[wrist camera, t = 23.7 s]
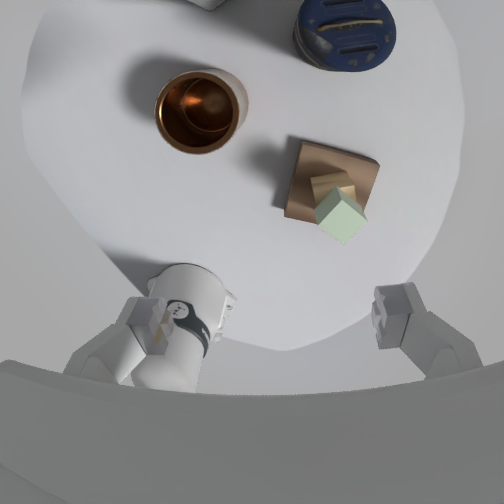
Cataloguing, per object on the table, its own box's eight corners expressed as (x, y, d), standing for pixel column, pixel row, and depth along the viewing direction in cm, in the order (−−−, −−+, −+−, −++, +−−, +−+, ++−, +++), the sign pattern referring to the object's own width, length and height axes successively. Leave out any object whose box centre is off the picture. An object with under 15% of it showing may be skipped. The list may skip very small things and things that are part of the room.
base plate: (352, 225, 50) (355, 232, 48) (284, 209, 50) (284, 216, 48) (375, 160, 44) (380, 165, 42) (301, 140, 43) (303, 144, 41)
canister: (359, 73, 36) (405, 80, 22) (293, 70, 37) (301, 71, 23) (357, 13, 31) (401, -14, 16) (289, 9, 32) (295, -26, 17)
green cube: (338, 227, 42) (343, 245, 38) (314, 209, 41) (317, 225, 37) (359, 205, 40) (367, 221, 36) (336, 185, 39) (341, 199, 35)
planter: (261, 85, 39) (256, 89, 31) (231, 148, 45) (220, 169, 37) (192, 59, 37) (170, 58, 29) (167, 123, 43) (142, 138, 35)
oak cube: (351, 204, 46) (358, 221, 41) (316, 210, 47) (320, 227, 42) (346, 171, 43) (354, 185, 38) (310, 177, 44) (313, 192, 39)
